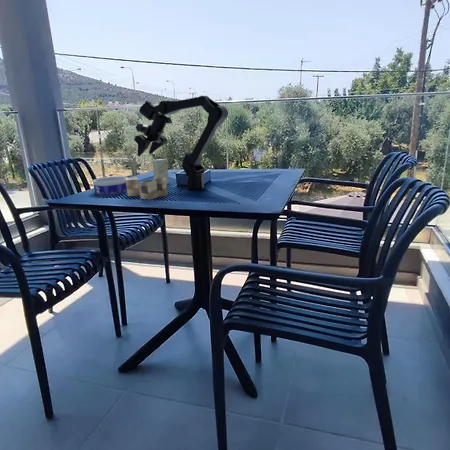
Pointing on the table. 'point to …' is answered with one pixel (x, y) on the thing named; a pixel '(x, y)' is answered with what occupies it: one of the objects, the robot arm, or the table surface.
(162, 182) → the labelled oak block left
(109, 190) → the dog bowl
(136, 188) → the plain oak block
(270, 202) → the table surface
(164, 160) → the skincare box
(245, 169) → the table surface
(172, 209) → the table surface
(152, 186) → the labelled oak block near
